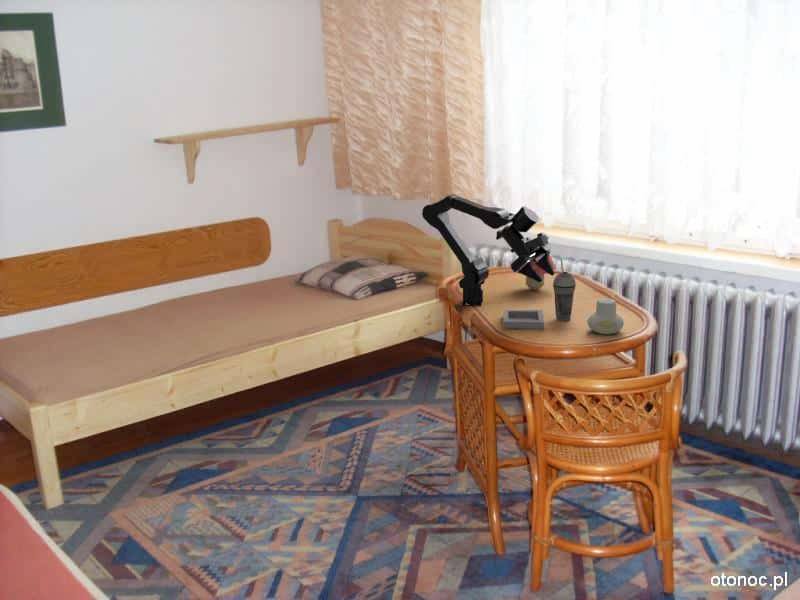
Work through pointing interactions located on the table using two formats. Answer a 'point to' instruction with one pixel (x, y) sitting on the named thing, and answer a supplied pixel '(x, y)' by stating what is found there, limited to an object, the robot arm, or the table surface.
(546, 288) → the table surface
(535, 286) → the decorative mushroom
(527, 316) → the tray
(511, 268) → the robot arm
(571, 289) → the beverage cup
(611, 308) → the air freshener
